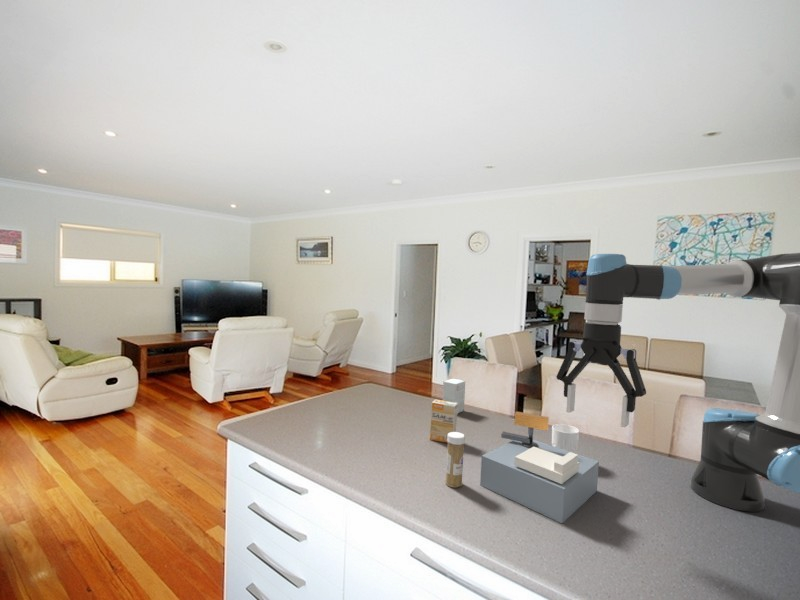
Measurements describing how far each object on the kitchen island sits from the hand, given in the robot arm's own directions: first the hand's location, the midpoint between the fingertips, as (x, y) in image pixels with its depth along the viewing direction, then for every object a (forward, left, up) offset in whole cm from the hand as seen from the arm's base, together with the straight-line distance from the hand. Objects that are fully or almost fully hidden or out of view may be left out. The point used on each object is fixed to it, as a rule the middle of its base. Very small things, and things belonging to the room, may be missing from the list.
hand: (596, 418), depth 89 cm
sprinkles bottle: (+31, +11, -24) cm, 41 cm away
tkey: (+22, -10, -15) cm, 29 cm away
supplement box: (+52, -10, -24) cm, 58 cm away
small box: (+69, -37, -24) cm, 82 cm away
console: (+15, -5, -24) cm, 29 cm away
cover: (+11, 0, -16) cm, 19 cm away
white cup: (+18, -28, -24) cm, 41 cm away
